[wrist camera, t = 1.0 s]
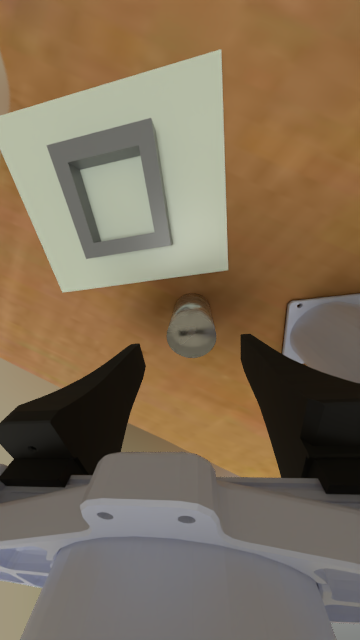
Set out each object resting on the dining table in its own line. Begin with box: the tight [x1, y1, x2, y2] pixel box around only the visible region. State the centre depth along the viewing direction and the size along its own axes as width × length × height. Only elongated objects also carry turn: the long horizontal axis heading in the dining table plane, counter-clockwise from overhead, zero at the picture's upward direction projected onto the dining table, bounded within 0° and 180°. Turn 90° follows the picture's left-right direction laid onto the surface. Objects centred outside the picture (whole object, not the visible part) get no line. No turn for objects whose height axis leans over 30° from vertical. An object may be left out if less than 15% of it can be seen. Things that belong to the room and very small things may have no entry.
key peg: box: [167, 293, 216, 358], centre depth 17 cm, size 4×4×6 cm
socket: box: [0, 49, 228, 292], centre depth 15 cm, size 18×14×2 cm
